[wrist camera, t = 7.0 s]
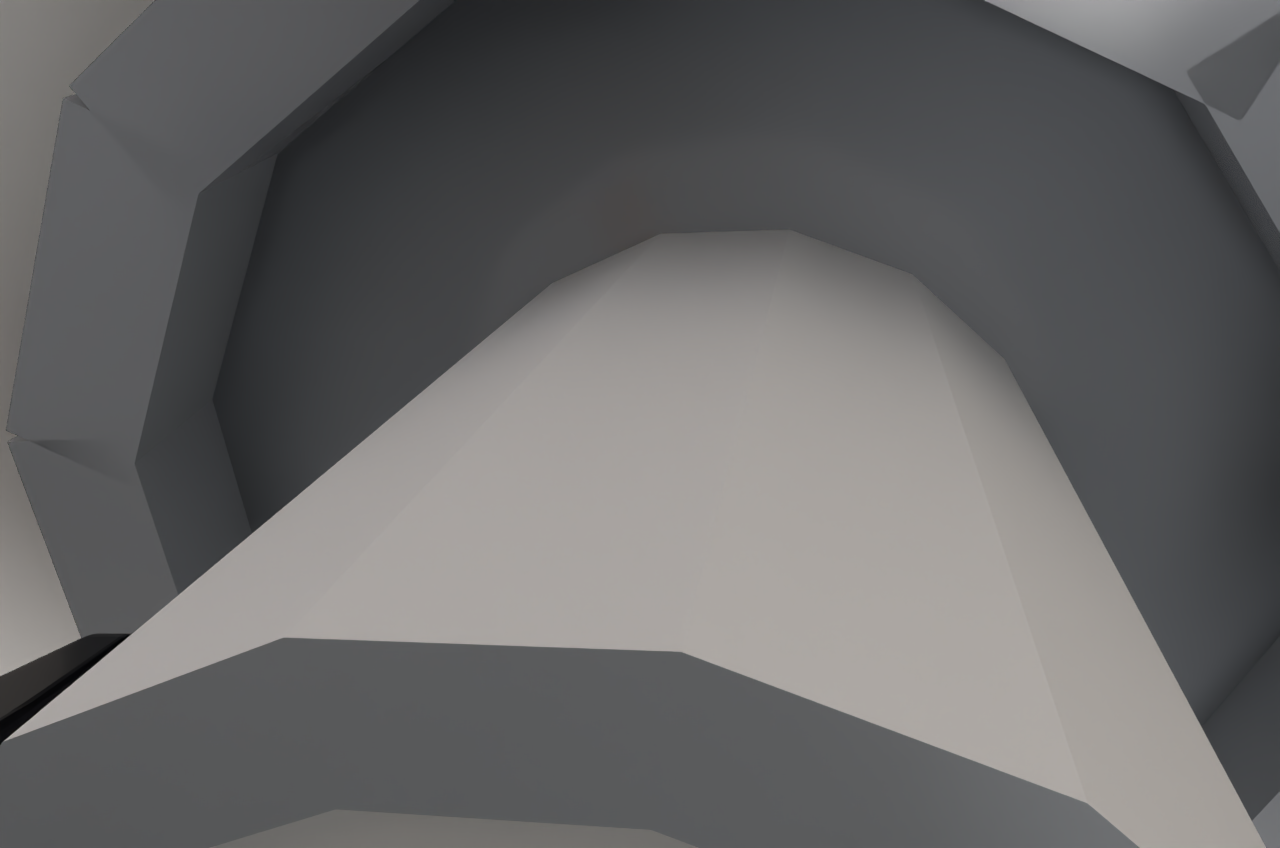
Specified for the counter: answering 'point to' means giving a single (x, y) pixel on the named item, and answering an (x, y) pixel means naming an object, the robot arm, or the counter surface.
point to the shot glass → (657, 606)
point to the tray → (643, 208)
